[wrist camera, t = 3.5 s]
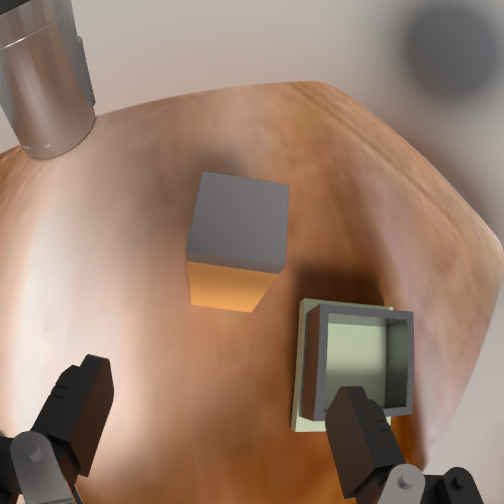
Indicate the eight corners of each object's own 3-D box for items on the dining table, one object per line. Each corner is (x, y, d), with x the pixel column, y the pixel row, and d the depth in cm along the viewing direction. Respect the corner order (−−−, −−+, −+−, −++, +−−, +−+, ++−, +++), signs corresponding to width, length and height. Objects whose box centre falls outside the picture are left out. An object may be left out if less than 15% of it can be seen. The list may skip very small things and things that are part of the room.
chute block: (200, 249, 24) (202, 171, 15) (256, 257, 25) (288, 185, 16) (191, 304, 23) (185, 251, 14) (251, 312, 23) (285, 265, 14)
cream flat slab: (299, 302, 24) (304, 298, 23) (385, 310, 25) (392, 307, 24) (290, 429, 20) (295, 431, 19) (382, 424, 21) (390, 425, 20)
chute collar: (305, 313, 22) (320, 303, 20) (391, 320, 23) (412, 311, 21) (298, 416, 19) (313, 421, 17) (389, 412, 20) (411, 413, 17)
